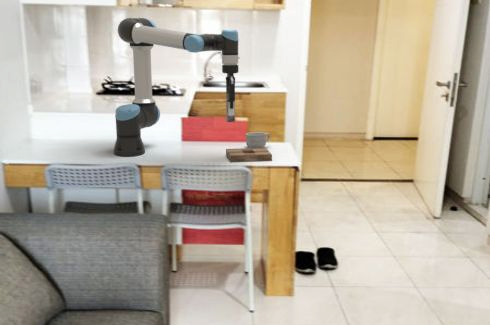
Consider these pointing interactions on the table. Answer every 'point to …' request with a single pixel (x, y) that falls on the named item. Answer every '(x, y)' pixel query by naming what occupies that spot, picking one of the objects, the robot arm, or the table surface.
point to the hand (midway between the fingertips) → (230, 114)
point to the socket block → (248, 154)
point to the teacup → (256, 139)
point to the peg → (228, 118)
